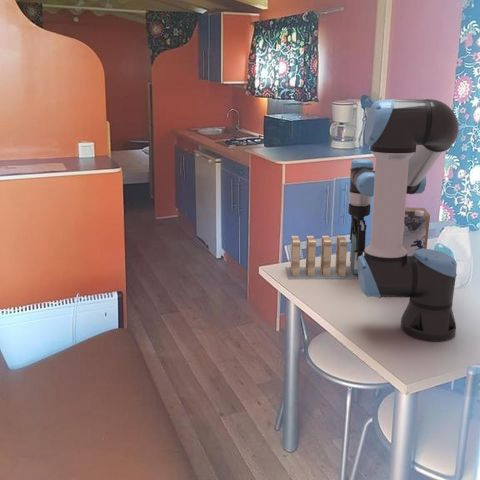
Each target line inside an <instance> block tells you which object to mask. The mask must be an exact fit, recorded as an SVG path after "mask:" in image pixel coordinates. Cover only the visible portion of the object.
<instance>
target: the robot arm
mask: <svg viewBox="0 0 480 480" xmlns="http://www.w3.org/2000/svg"><path fill="white" fill-rule="evenodd" d="M458 135H459V121H458V117H457V116H456V113H455V112H454V110H453V109H452V108H451V107H450V106H449V105H447V104H446V103H444V102H442V101H440V100H437V99H433V98H431V99H430V98H426V99H421V98H420V99H418V98H417V99H416V98H414V99H413V98H409V99H407V98H406V99H402V98H401V99H400V98H398V99H397V98H395V99H394V98H390V99H378V100H376V101H374V102H373V103H372V105H371V106H370V108H369V110H368V113H367V116H366V122H365V127H364V143H365V144H366V146H368V147H369V146H370V150H369V151H370V153H371V154H372V155H373V157H374V158H375V166H374V161H373V159H369V158H354V159H352V161H351V162H350V181H349V182H350V183H349V191H348V193H349V194H348V196H349V197H348V203H349V204H348V210H347V213H348V215H350V217H351V219H350V220H351V222H350V231H349V241H350V247H351V246H352V234H356V251H354V252H355V261H354V269H358V277H359V279H358V282H359V286H360V289H361V292H362V293H363V295H364V296H366V297H367V298H369V297H371V298H378V299H381V298H409V300H408V303H407V305H406V308H405V310H404V311H403V313H402V316H401V319H400V330H402V331H403V332H404V333H405V334H406V335H408V336H411V337H412V338H415V339H418V340H422V341H427V342H443V341H448V340H451V339H452V338H454V337H455V335H456V332H457V331H456V330H457V324H456V320H455V316H454V311H453V300H454V294H455V285H456V279H457V276H458V274H457V260H456V259H455V258H454V257H453V256H451V255H449V254H448V253H445V252H443V251H439V250H436V249H431V248H427V249H417V250H415V251H414V253H413V256H407V250H406V249H405V248H404V247H403V246H402V243H403V230H404V217H405V207H406V203H407V202H406V201H407V195H416V194H417V195H418V194H423V193H424V191H426V186H427V174H428V172H429V171H430V170H431V169H432V167H433V166H434V164H435V163H436V161H437V160H438V159H439V157H440V156H441V155H442V154H443V152H446V151H448V150H449V149H450V148H451V147H452V146H453V144H454V143H455V142H456V140H457V138H458ZM371 202H372V206H371ZM371 207H372V215H371ZM369 215H371V230H370V243H369V244H368V245H367V246H366V234H367V233H366V231H367V224H366V220H365V217H368V216H369ZM349 251H350V252H349V253H350V254H349V263H350V262H351V248H350V250H349Z"/></svg>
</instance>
